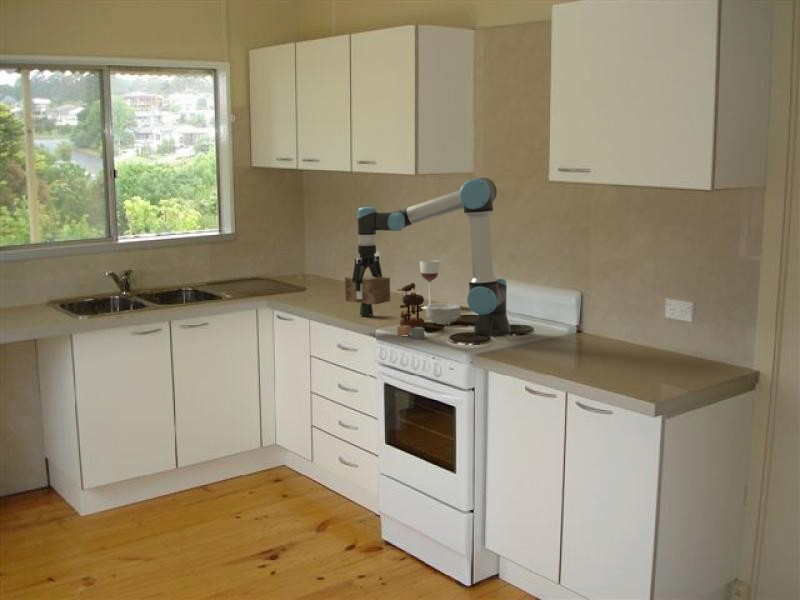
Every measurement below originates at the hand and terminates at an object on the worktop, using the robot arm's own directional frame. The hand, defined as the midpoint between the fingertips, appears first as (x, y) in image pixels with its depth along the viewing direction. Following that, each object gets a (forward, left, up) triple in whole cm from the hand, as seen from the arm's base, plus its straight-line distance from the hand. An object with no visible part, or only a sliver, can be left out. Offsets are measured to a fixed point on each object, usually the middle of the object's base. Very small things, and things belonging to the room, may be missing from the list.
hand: (367, 297), depth 387 cm
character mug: (+26, -31, -15) cm, 43 cm away
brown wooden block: (0, 0, -2) cm, 2 cm away
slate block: (-24, -3, -15) cm, 28 cm away
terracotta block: (-17, -3, -15) cm, 23 cm away
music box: (-9, -20, -15) cm, 27 cm away
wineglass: (+15, -67, -15) cm, 70 cm away
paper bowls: (-14, -36, -15) cm, 42 cm away
